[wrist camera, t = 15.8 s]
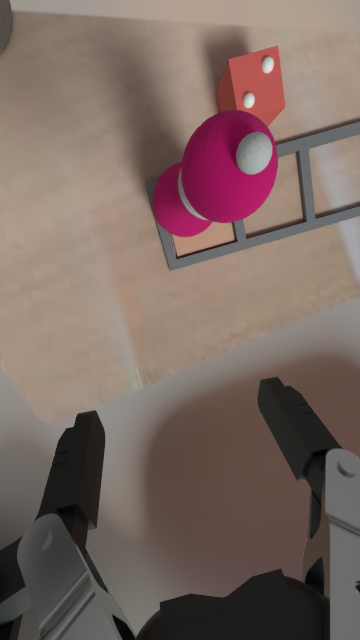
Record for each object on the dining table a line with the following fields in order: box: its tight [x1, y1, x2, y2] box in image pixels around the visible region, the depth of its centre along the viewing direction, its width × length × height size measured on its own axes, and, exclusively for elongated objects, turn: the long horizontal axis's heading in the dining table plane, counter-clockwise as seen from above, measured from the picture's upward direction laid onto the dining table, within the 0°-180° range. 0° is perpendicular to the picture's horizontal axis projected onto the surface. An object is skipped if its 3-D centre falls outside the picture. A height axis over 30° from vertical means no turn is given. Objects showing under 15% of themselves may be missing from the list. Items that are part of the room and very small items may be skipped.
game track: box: [145, 122, 360, 271], centre depth 31 cm, size 31×11×1 cm, turn 106°
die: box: [216, 46, 285, 127], centre depth 25 cm, size 5×5×6 cm
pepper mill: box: [152, 110, 278, 237], centre depth 20 cm, size 7×7×20 cm
